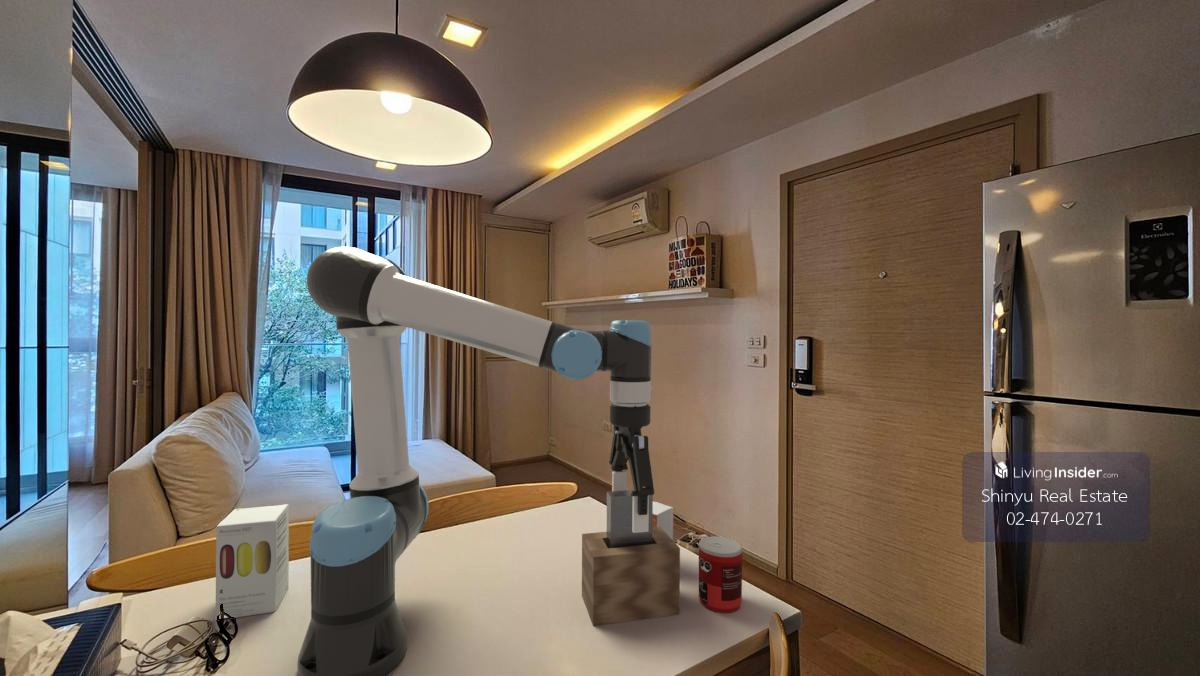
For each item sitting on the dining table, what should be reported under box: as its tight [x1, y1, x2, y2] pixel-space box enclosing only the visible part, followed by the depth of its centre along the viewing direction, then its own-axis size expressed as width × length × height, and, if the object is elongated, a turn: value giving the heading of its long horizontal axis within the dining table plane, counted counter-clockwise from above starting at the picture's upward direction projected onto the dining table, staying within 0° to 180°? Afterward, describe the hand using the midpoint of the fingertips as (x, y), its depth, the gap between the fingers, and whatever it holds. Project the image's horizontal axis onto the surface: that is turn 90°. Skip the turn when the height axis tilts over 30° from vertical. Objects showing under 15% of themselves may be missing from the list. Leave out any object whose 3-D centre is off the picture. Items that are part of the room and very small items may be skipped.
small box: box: [652, 501, 674, 541], centre depth 108 cm, size 8×6×13 cm
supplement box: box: [214, 503, 290, 621], centre depth 92 cm, size 10×9×17 cm
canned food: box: [698, 535, 743, 614], centre depth 93 cm, size 8×8×11 cm
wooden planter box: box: [581, 527, 681, 627], centre depth 92 cm, size 16×10×12 cm, turn 103°
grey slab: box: [606, 489, 654, 549], centre depth 92 cm, size 8×3×14 cm, turn 103°
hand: (628, 517), depth 92 cm, fingers open, 13 cm apart
